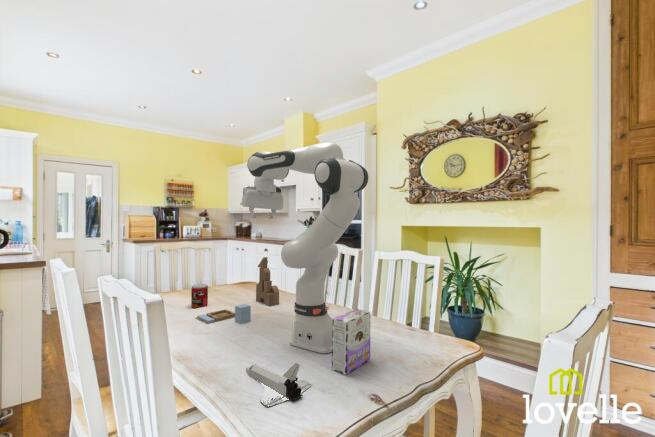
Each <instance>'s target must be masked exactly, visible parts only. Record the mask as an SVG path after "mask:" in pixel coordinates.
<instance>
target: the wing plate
mask: <svg viewBox="0 0 655 437" xmlns="http://www.w3.org/2000/svg"><path fill="white" fill-rule="evenodd" d="M197 318H199V319H201V320H203V321H205V322H207V323H211V322H215V319H213V318H211V317H208V316H206V314H199V315H197ZM215 323H216V322H215ZM211 324H212V323H211Z"/></svg>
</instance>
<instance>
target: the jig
mask: <svg viewBox="0 0 655 437" xmlns="http://www.w3.org/2000/svg"><path fill="white" fill-rule="evenodd" d="M205 315H206V316H208V317H211V318H213V319H215V322H211V323H207V322H205V321H203V320H201V319H199V318H197V317H194V319H195V320H196V321H197V320H198V322H202V323H203V324H205V325H211V324H214V323H219V322H223V321H227V320H231V319H235V311H231V310H228V309H221V310H217V311H212V312H208V313H205Z"/></svg>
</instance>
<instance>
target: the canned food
mask: <svg viewBox="0 0 655 437" xmlns="http://www.w3.org/2000/svg"><path fill="white" fill-rule="evenodd" d="M190 289H191V294H190V295H191V300H190V302H191V303H190V304H191V308H192V309H195V310H196V309H200V308H206V307H208V304H209V302H208V301H209V299H208V297H209V293H208V292H209V286H208V283H207V284H206V283H198V284H192V285H191V288H190Z"/></svg>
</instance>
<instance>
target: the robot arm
mask: <svg viewBox="0 0 655 437" xmlns="http://www.w3.org/2000/svg"><path fill="white" fill-rule="evenodd" d="M246 165H247V169H248V172H249V173H250V174H251V175H252V177H255V178H254V181H253V182H254V183H253V186H250V185H246V186H244V187H243V188H242V198H241V206H242V207H244V208H248V211H249V212H250V219H255V218H256V217H257V213H255V212H254V210H255V209H265V210H270V213H271V214H269V215H268V219H269V220H274V218H275V215H276V212H277V211H281V210H283V208H284V195H283V193H284V189H283V188H281V187H279V186H277V185H276V184H275V180H277V181H280V180H284V179H286V178H287V177H288V175H289V173H290V170H291V171H295V172H299V173H303V174H308V175H310V174H311V175H314V180H315V181H316V184H317V185H318V187H320V189H321V190H322V192H323V193H324V195H327V196H329V197H330V198H329V200H328V202H327V203H326V204H325V206H324V208H323V209H322V210H321V212H320V213H319V214H318V216H317V217H316V219H315V220H314V221H313V223H312V224H311V225H310V226H308V227H307V228H306V229H305V230H304V231H303V232H302V233H300V234H299V235H298V236H296V237H295V238H293V239H292V240H290V241H287V242H285V243H284V244H283V245H282V248H281V252H280V258H281V261H282V263H283V264H284V266H286V267H287V268H289V269H297V270H298V269H299V270H300V269H304V271H303V273H302V275H301V276H300V277H299V278H298V279H297V281H296V284H295V302H294V306H293V307H294V313H295V315H294V319H293V325H292V332H291V337H290V341H289V344H290V345H291V346H294V347H297V348H300V349H304V350H307V351H311V352H315V353H318V354H330V353H332V334H333V317H331V316H330V315H329V313H328V310H329V309H330V306H329V305H328V306H327V305H326V302H325V290H326V289H325V287H326V279H327V276H328V273H329V270H330V268H331V267H332V264H333V263H334V262H335V261H336V259H337V258H338V255H339V254H338V253H339V248H338V245H337V244H336V243H337V242H338V241H339V240H340V238H341V237H342V236H343V234H344V233H345V232H346V231H347V229H348V228H349V226H350V224H351V223H352V222H353V221H354V219H355V217H356V216H357V213H358V211H359V209H360V207H361V200H360V197H359V196H358V195H357V194H356V193H358V192H360V191H362V190H364V189H365V188H366V187H367V185H368V183H369V173H368V170H367V169H366V168H365V167H364V166H362V165H361V164H359V163H357V162H355V161H353V160H350V159H349V160H346V159H345V158H344V153H343V150H342V148H341V146H340V145H339V144H337V143H336V142H319V143H315V144H310V145H307V146H303V147H298V148H294V149H288V150H283V151H282V150H281V151H277V152H276V151H275V152H271V151H260V152H258V151H257V152H254V153H253V154H251V156H250V157H249V158H248V160H247V164H246Z"/></svg>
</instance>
